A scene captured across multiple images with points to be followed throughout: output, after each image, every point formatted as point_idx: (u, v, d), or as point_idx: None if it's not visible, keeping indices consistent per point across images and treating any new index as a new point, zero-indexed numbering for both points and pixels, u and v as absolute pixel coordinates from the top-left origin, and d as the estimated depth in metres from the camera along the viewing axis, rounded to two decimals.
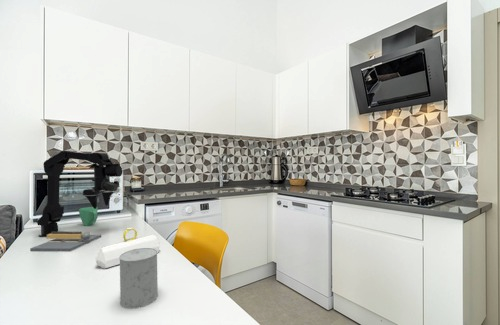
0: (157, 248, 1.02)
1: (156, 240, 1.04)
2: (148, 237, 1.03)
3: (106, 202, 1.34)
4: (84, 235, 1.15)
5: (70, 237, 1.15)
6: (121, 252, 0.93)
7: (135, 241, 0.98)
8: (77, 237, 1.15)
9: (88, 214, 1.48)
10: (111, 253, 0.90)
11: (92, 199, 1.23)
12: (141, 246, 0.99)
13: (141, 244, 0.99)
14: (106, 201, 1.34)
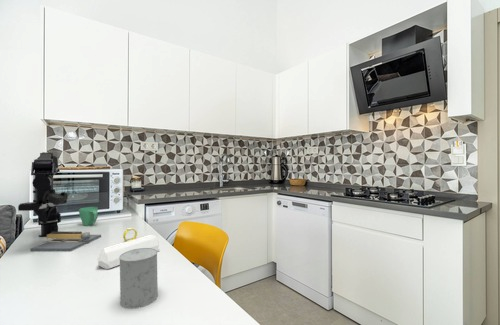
0: (156, 247, 1.04)
1: (155, 239, 1.05)
2: (147, 236, 1.03)
3: None
4: (84, 235, 1.15)
5: (70, 237, 1.15)
6: (123, 252, 0.93)
7: (135, 241, 0.99)
8: (77, 237, 1.15)
9: (88, 214, 1.48)
10: (113, 253, 0.90)
11: (40, 212, 1.09)
12: (142, 245, 0.99)
13: (141, 244, 0.99)
14: None
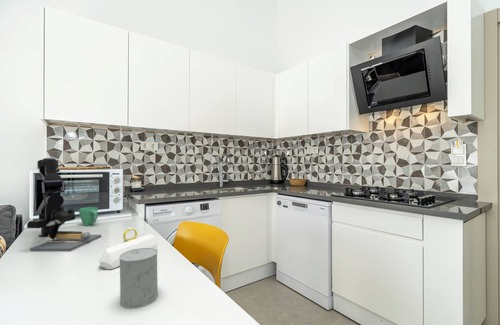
0: (156, 246, 1.05)
1: (154, 239, 1.06)
2: (146, 236, 1.04)
3: None
4: (84, 235, 1.15)
5: (70, 237, 1.15)
6: None
7: (135, 241, 0.99)
8: (77, 237, 1.15)
9: (88, 214, 1.48)
10: (116, 253, 0.90)
11: (49, 229, 1.14)
12: (142, 245, 1.00)
13: (141, 244, 1.00)
14: None
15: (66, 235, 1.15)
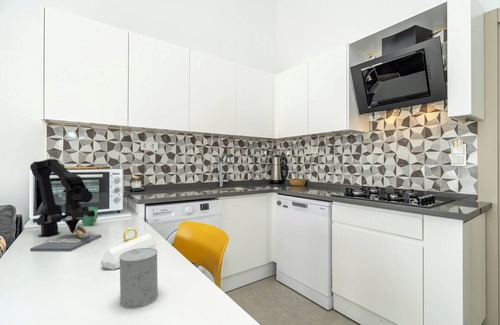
0: (154, 246, 1.06)
1: (152, 238, 1.06)
2: (144, 236, 1.04)
3: None
4: (82, 235, 1.15)
5: (78, 234, 1.19)
6: None
7: (135, 240, 0.99)
8: (80, 236, 1.17)
9: None
10: (119, 253, 0.90)
11: None
12: (142, 244, 1.00)
13: (141, 243, 1.00)
14: None
15: (77, 232, 1.21)
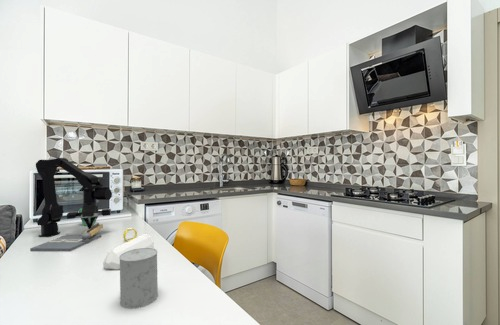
0: (152, 245, 1.06)
1: (150, 238, 1.07)
2: (142, 235, 1.05)
3: None
4: None
5: None
6: None
7: (135, 240, 0.99)
8: None
9: None
10: (122, 253, 0.90)
11: None
12: (141, 244, 1.01)
13: (141, 243, 1.01)
14: None
15: None
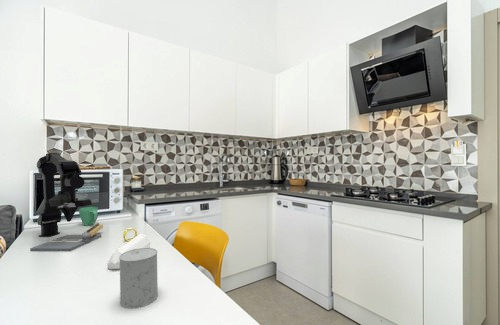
0: (149, 244, 1.07)
1: (146, 237, 1.08)
2: (139, 235, 1.05)
3: None
4: None
5: None
6: None
7: (134, 240, 1.00)
8: None
9: (88, 214, 1.48)
10: None
11: None
12: (140, 243, 1.01)
13: (140, 242, 1.01)
14: None
15: None
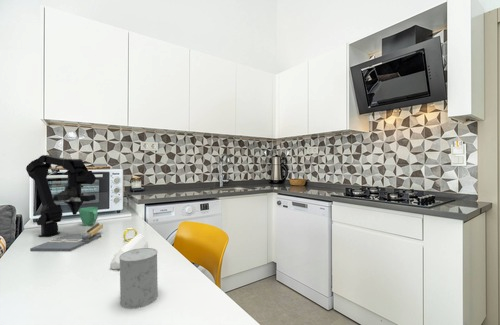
0: (147, 244, 1.08)
1: (144, 237, 1.08)
2: (138, 235, 1.05)
3: None
4: None
5: None
6: None
7: (134, 240, 1.00)
8: None
9: (88, 214, 1.48)
10: None
11: None
12: (140, 243, 1.02)
13: (139, 242, 1.02)
14: None
15: None
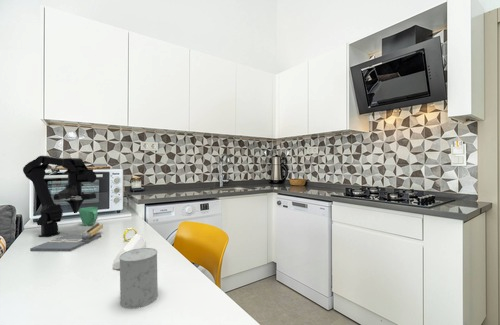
0: (145, 244, 1.08)
1: (142, 237, 1.08)
2: (136, 235, 1.05)
3: None
4: None
5: None
6: None
7: (134, 240, 1.00)
8: None
9: (88, 214, 1.48)
10: None
11: None
12: (139, 243, 1.02)
13: (138, 242, 1.02)
14: None
15: None
